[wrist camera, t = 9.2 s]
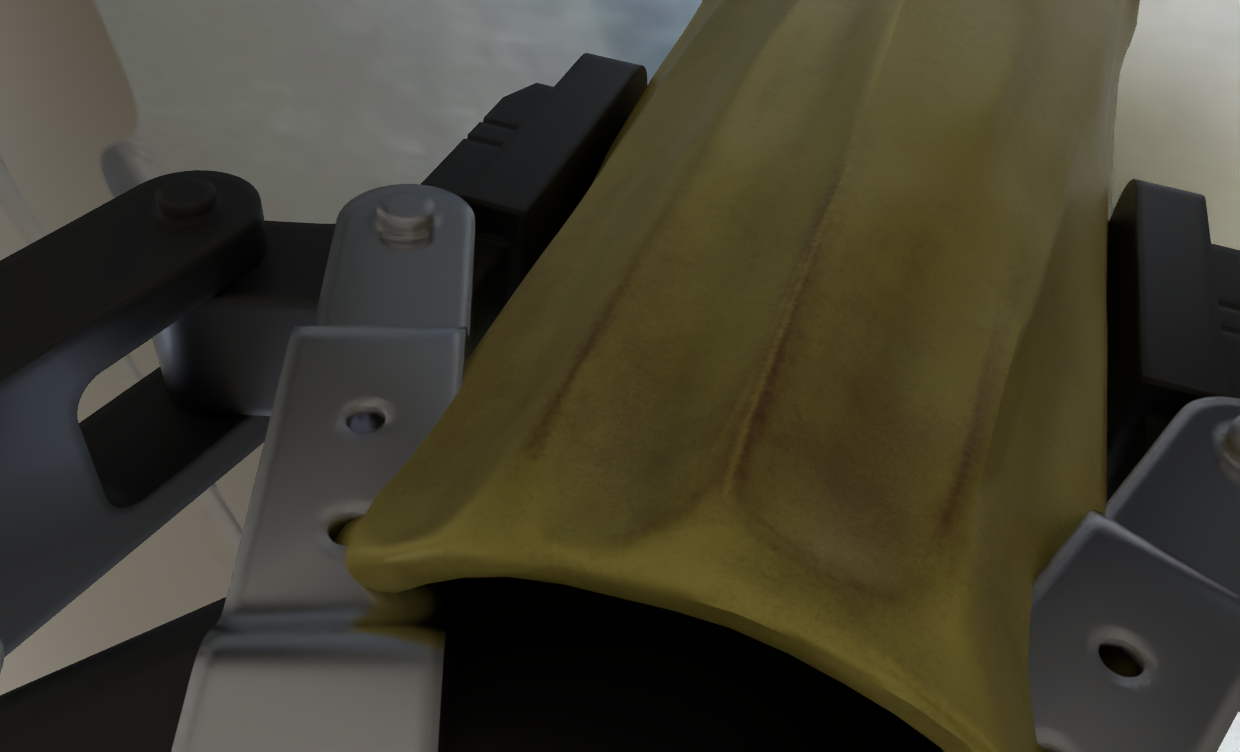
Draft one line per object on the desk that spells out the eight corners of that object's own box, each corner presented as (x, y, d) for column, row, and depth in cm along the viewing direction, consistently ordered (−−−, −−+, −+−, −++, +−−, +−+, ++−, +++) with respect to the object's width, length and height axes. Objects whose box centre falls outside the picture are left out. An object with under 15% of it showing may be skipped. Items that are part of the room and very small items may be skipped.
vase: (1192, -208, 14) (1397, 671, 4) (1089, 199, 18) (1054, 1175, 8) (741, -214, 16) (64, 381, 6) (735, 158, 20) (328, 908, 10)
